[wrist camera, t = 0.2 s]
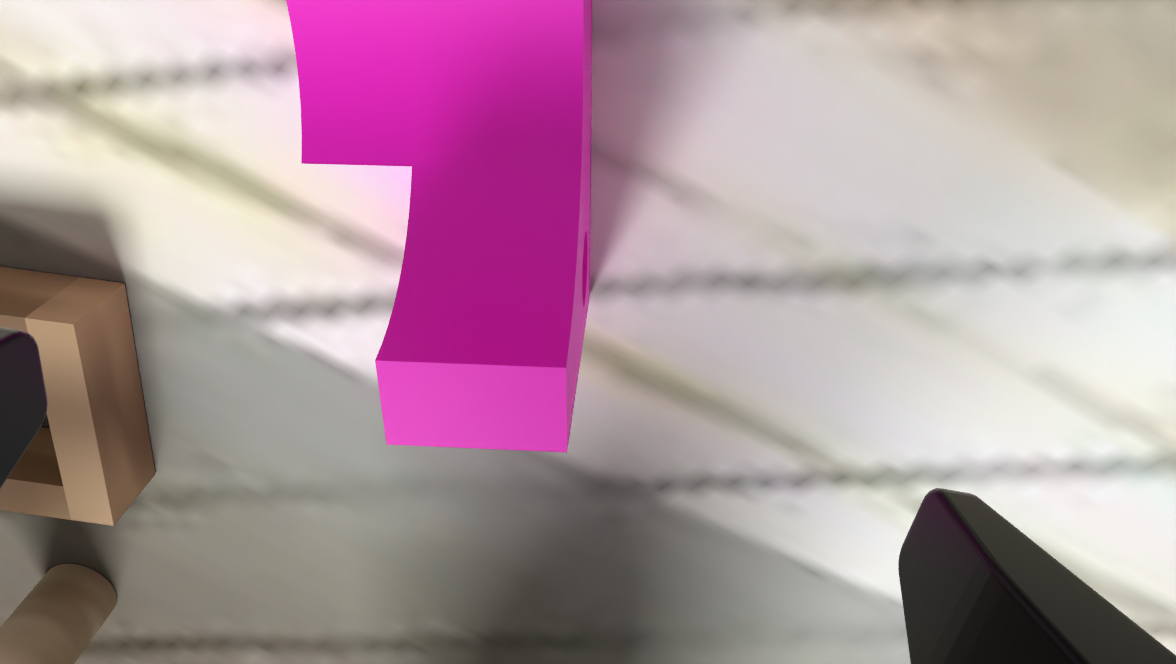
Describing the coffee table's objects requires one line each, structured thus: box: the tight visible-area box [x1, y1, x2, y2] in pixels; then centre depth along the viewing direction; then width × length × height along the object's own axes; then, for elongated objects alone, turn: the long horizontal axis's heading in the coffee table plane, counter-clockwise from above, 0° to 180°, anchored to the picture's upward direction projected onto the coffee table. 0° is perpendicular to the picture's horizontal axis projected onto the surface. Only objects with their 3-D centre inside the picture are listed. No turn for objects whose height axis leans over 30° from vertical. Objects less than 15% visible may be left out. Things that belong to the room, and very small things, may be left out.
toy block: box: [286, 0, 592, 452], centre depth 17 cm, size 15×6×8 cm, turn 0°
